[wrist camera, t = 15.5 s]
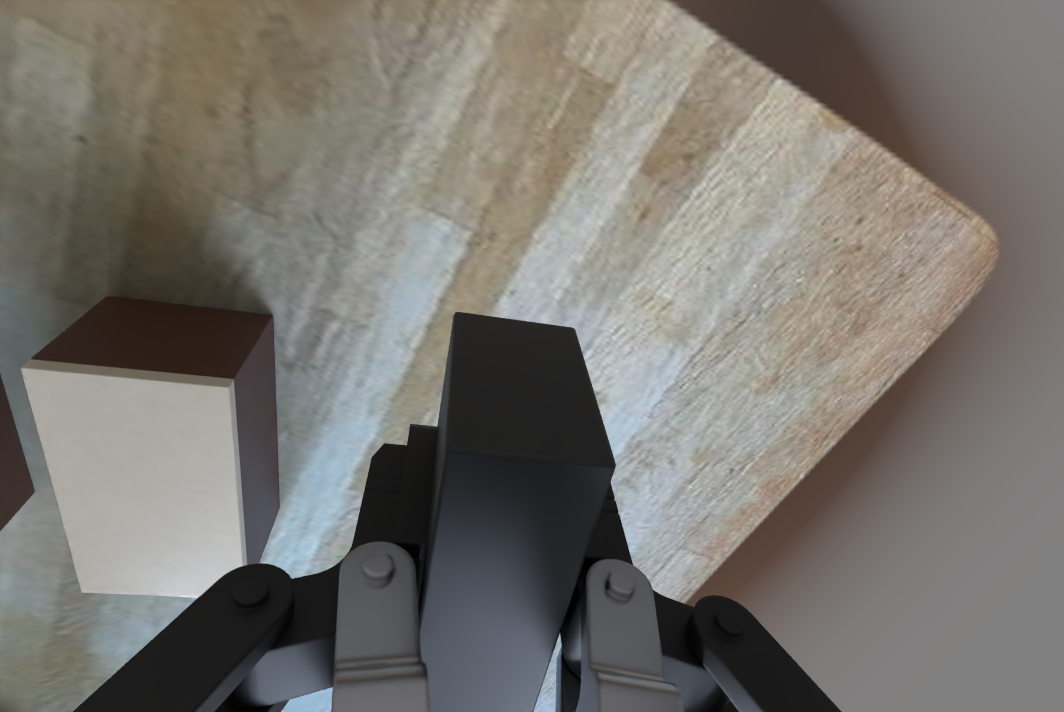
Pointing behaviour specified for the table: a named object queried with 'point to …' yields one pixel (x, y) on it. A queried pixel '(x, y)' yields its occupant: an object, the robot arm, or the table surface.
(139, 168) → the table surface
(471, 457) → the knife
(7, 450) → the cake slice
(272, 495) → the cake
